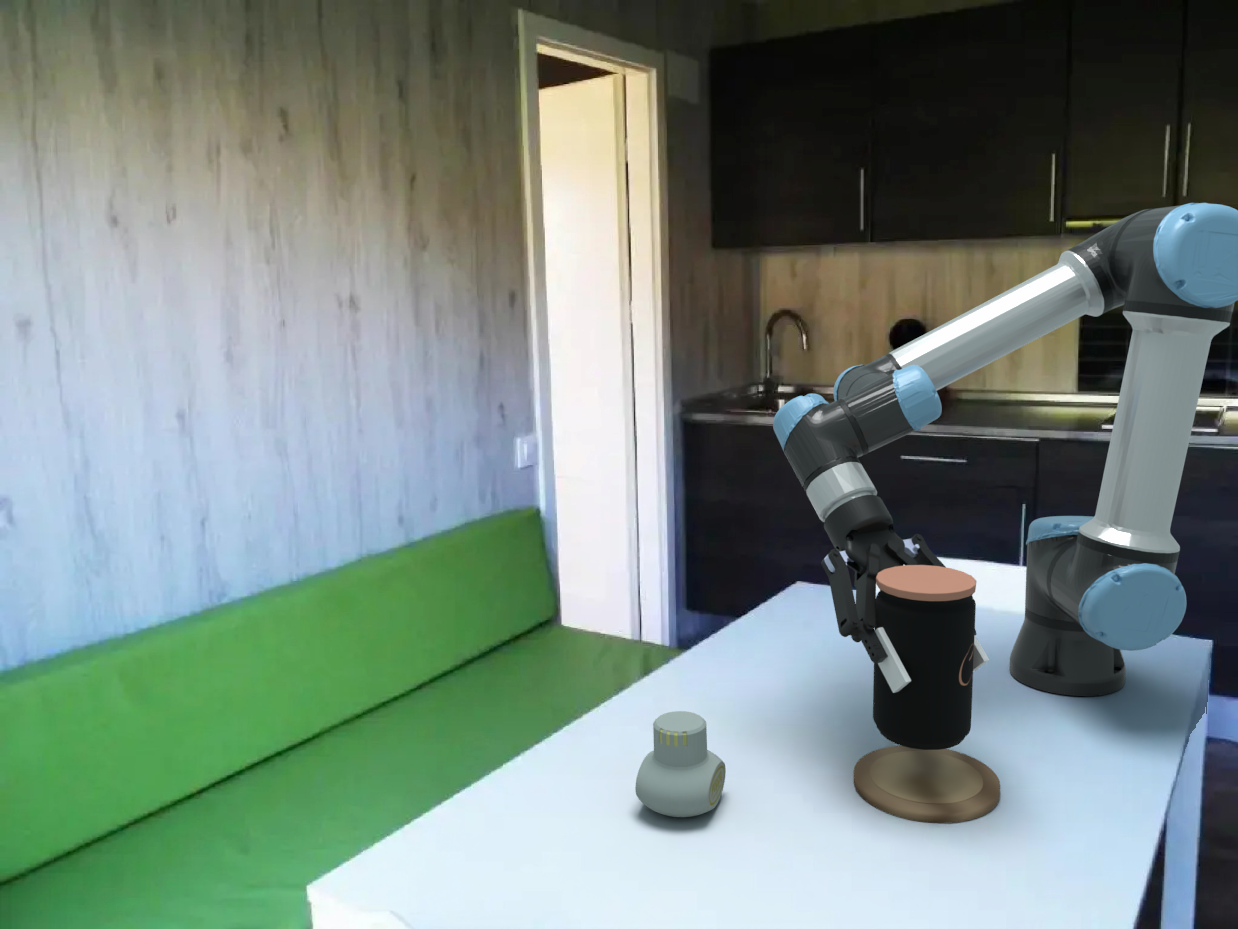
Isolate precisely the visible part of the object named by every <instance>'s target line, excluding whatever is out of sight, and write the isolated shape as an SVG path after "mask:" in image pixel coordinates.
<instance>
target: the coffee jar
mask: <svg viewBox="0 0 1238 929" xmlns="http://www.w3.org/2000/svg"><path fill="white" fill-rule="evenodd" d="M876 587H877V588H878V589H879V591H878V592H877V593H876V606H875V628H874V630H876V629H877V628H880V627H883V628H884V630H885V633H886V634H887V636H888V638H889V640H890V641H891V643H892V645H893V647H894V649H895V651H896V653H897V655H898V656H899V658H900V660H901V662H902V664H903V666H904V668H905V670H906V672H907V673H908V675H909V677H910V679H911V682H909V683H908V684H907V685H906V686H905V687H903V688H902V689H901V690H900V691H899V692H895V693H893V692H892V690H891V688H890V686H889V684H888V682H887V680H886V678H885V676H884V674H883V673H882V671H881V669H880V667H879V665H878V663H877V664H874V663H873V689H872V691H873V694H872V695H873V696H872V702H873V704H872V719H873V723H874V724H875V726H876V729H877V730H878V732H879V733H880V734H881V736H883V737H884V738H885V739H886V740H888V741H889V742H892V743H894V744H896V745H897V746H899V745H901V746H905V747H909V748H914V749H921V750H940V749H951V748H953V747H956V746H958V745H960V744H961V743H962V742H963V741H964V740H965V738H966V737H967V736H968V735H969V733H970V731H971V729H972V728H971V727H972V709H973V707H972V706H973V680H974V671H973V662H974V636H976V635H975V630H976V609H977V608H976V604H977V603H976V600H975V599H974V597H973V595H974V594H975V592H976V588H977V580H976V578H975V577H973V576H972V575H971V574H969V573H966V572H964V571H962V570H958V569H955V568H950V567H946V566H945V567H940V566H930V565H903V566H896V567H891V568H888V569H884V570H882V571H881V572H879V573H878V574H877V576H876ZM972 597H973V598H972Z"/></svg>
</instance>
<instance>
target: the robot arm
mask: <svg viewBox="0 0 1238 929" xmlns="http://www.w3.org/2000/svg"><path fill="white" fill-rule="evenodd" d="M1237 301H1238V209H1236V208H1233V207H1231V206H1228V205H1225V204H1219V203H1218V204H1217V203H1209V202H1200V203H1199V202H1189V203H1185V204H1182V205H1181V204H1180V205H1175V206H1174V205H1173V206H1165V207H1153V208H1152V207H1151V208H1146V209H1142V210H1139V211H1137V212H1134V213H1132V214H1130V215H1128V216H1125V217H1123V218H1122V219H1120V220H1118V221H1116V222H1114V223H1113V224H1112V225H1110V226H1107V227H1106V228H1104V229H1103V230H1101V231H1099V232H1097V233H1095V234H1094V235H1092V236H1090V237H1089V238H1087V239H1085V240H1084V241H1082V242H1080V243H1078V244H1076V245H1075V246H1073V247H1071V248H1069V249H1067V250H1065V251H1063V252H1062V253H1061V254H1060V257H1059V260H1058V262H1057V264H1055V265H1053V266H1050V267H1049V268H1047V269H1045V270H1044V271H1041V272H1040V273H1037V274H1036V275H1034V276H1033V277H1030V278H1028V279H1027V280H1025V281H1023V282H1021V283H1019V284H1017V285H1015V286H1013V287H1011V288H1009V289H1007V290H1006V291H1003V292H1002V293H1000V294H999V295H996V296H994V297H993V298H991V299H989V300H986V301H985V302H983V303H981V304H980V305H977V306H976V307H973V308H971V309H970V310H968V311H966V312H964V313H962V314H959V316H958V315H957V316H956V317H954V318H953V319H951V320H949V321H946V322H945V323H943V324H941V325H939V326H938V327H935V328H933V329H932V330H930V331H927V332H926V333H924V334H923V335H921V336H919V337H917V338H914V339H913V340H911V341H909V342H907V343H905V344H903V345H901V346H900V347H897V348H895V349H894V350H892V351H890V352H889V353H887V354H884V355H883V356H880V357H879V358H877V359H875V360H873V361H871V362H869V363H867V364H858V365H854V366H850V367H848V368H847V369H845V370H844V371H842V372H841V373H840V374H839V375H838V377H837V379H836V381H835V382H834V385H833V399H834V401H833V402H829V401H827V400H825V398H824V397H823V396H822V395H821V394H818V393H807V394H806V395H804V396H803V395H799V396H796V397H793V398H792V399H789V401H787V402H786V403H784V405H782V406H781V407H780V408H779V410H777V412H776V414H775V415H774V418H773V422H772V427H773V432H774V434H775V435H776V439H777V440H778V442H779V444H780V446H781V449H782V451H783V453H784V455H785V457H786V458H787V461H788V463H789V464H790V466H791V468H792V469H793V472H794V473H795V475H796V478H797V479H798V481H799V482H800V485H801V487H803V490H804V492H805V494H806V496H807V498H808V500H809V501H810V503H811V505H812V507H813V508H814V510H815V512H816V515H817V516H818V518H819V520H820V521H821V522H822V523H823V528H824V530H825V532H826V533H827V536H828V538H829V540H830V541H831V544H832V545H833V547H834V548H833V549H831V550H830V551H829V552H828V554H826V556H825V557H824V558H823V559H822V561H821V562H820V563H821V566H822V568H823V570H824V572H825V574H826V575H827V577H828V580H829V586H830V592H831V596H832V601H833V607H834V612H835V618H836V622H837V627H838V633H839V634H840V636H842V637H844V638H847V637H849V636H851V637H850V638H851V640H852V641H853V642H854V643H862V645H863V647H864V649H865V651H866V653H867V655H868V657H869V658H870V661H871V662H872V663H873V665H874V664H877V663H878V665H879V667H880V669H881V671H882V673H883V674H884V676H885V678H886V680H887V682H888V684H889V686H890V688H891V690H892V692H893V693H895V692H899V691H900V690H901V689H902V688H903V687H905V686H906V685H907V684H908V683H909V682H911V679H910V677H909V675H908V673H907V672H906V670H905V668H904V666H903V664H902V662H901V660H900V658H899V656H898V655H897V653H896V651H895V649H894V647H893V645H892V643H891V641H890V640H889V638H888V636H887V634H886V633H885V630H884V628H883V627H880V628H877V629H876V630H875V606H876V596H877V584H876V576H877V574H878V573H879V572H881V571H882V570H884V569H888V568H891V567H896V566H904V565H930V566H940V567H946V565H945V564H944V563H943V562H942V561H941V560H940V559H939V558H938V557H937V555H936V554H934V552H932V550H931V549H930V548H929V546H928V544H927V543H926V541H925V538H924V537H923V536H922V534H919V533H915V534H914V535H913V536H912V537H911V538H907V539H902V538H901V537H900V536H899V535H898V534H897V533H896V531H895V528H894V520H893V517H892V515H891V514H890V511H889V510H888V508H887V506H886V505H885V503H884V501H883V499H882V498H881V497H880V496H877V495H878V491H877V488H876V487H875V485H874V483H873V482H872V480H871V478H870V477H869V475H868V473H867V471H866V470H865V468H864V466H863V465H862V463H861V461H860V459H859V457H860V458H861V457H862V456H864V455H867V454H868V453H871V452H872V451H875V450H877V449H880V448H881V447H884V446H886V445H889V444H890V443H892V442H894V441H897V440H898V439H901V438H903V437H905V436H908V435H910V434H911V433H914V432H916V431H921V430H922V428H924V427H925V426H927V425H928V424H930V423H933V421H936V420H937V419H938V418H940V416H942V412H943V410H942V406H943V405H942V402H941V399H940V396H939V394H938V391H939V390H941V389H943V388H945V387H947V386H949V385H950V384H953V383H954V382H957V381H958V380H960V379H963V378H965V377H966V376H968V375H970V374H972V373H974V372H976V371H978V370H979V369H982V368H984V367H986V366H987V365H989V364H991V363H993V362H995V361H997V360H999V359H1001V358H1003V357H1005V356H1007V355H1009V354H1011V353H1013V352H1014V351H1016V350H1018V349H1021V348H1023V347H1024V346H1026V345H1028V344H1030V343H1032V342H1034V341H1036V340H1037V339H1040V338H1042V337H1044V336H1045V335H1047V334H1050V333H1052V332H1053V331H1055V330H1057V329H1059V328H1061V327H1063V326H1065V325H1067V324H1069V323H1071V322H1073V321H1074V320H1077V319H1079V318H1081V317H1083V316H1084V315H1088V316H1091V317H1100V316H1101V315H1103V314H1105V313H1107V312H1109V311H1111V310H1114V309H1116V308H1119V307H1121V306H1123V309H1122V316H1124V318H1125V319H1126V320H1127V322H1128V323H1129V325H1130V326H1131V329H1132V332H1131V338H1130V341H1129V347H1128V352H1127V358H1126V362H1125V367H1124V372H1123V376H1122V381H1121V385H1120V386H1121V387H1120V392H1119V397H1118V402H1117V406H1116V411H1115V416H1114V420H1113V425H1112V431H1111V436H1110V441H1109V446H1108V451H1107V455H1106V460H1105V465H1104V470H1103V475H1102V480H1101V485H1100V489H1099V490H1100V491H1099V496H1098V500H1097V503H1096V504H1097V505H1096V508H1095V513H1094V514H1095V515H1094V516H1089V515H1087V516H1085V515H1056V516H1054V515H1053V516H1046V517H1044V516H1043V517H1040V518H1039V517H1038V518H1037V519H1034V520H1033V521H1031V523H1030V524H1029V526H1028V533H1027V539H1026V542H1025V545H1026V567H1025V568H1026V569H1025V570H1026V571H1025V573H1026V574H1025V600H1024V601H1025V602H1024V604H1025V605H1024V619H1023V623H1022V625H1021V628H1020V629H1019V633H1018V635H1017V637H1016V640H1015V643H1014V645H1013V647H1012V650H1011V651H1010V657H1009V672H1010V675H1012V677H1013V678H1014V679H1016V680H1017V681H1018V682H1020V683H1021V684H1024V685H1026V686H1028V687H1030V688H1032V689H1033V688H1034V689H1036V690H1039V691H1040V690H1041V691H1044V692H1047V693H1052V694H1058V695H1064V696H1071V697H1072V696H1073V697H1074V696H1075V697H1094V696H1103V695H1109V694H1112V693H1116V692H1118V691H1119V690H1122V689H1123V687H1124V686H1125V685H1126V671H1127V670H1126V663H1125V660H1124V657H1123V653H1122V651H1130V652H1131V651H1142V650H1145V649H1149V648H1152V647H1155V646H1157V644H1159V643H1161V642H1162V641H1165V640H1166V639H1167V638H1170V637H1171V635H1172V634H1173V633H1174V632H1175V631H1177V629H1178V628H1179V626H1180V625H1181V623H1182V621H1183V619H1184V616H1185V615H1186V610H1187V595H1186V591H1185V588H1184V586H1183V584H1182V582H1181V581H1180V579H1179V578H1178V576H1177V575H1176V574H1175V573H1176V569H1177V566H1178V559H1179V555H1180V551H1181V546H1180V544H1179V543H1178V542H1177V540H1176V539H1175V538H1174V536H1173V535H1172V533H1171V526H1172V522H1173V516H1174V512H1175V508H1176V505H1177V504H1176V503H1177V498H1178V494H1179V490H1180V485H1181V481H1182V476H1183V471H1184V466H1185V462H1186V457H1187V453H1188V450H1189V449H1188V448H1189V444H1190V440H1191V434H1192V429H1193V427H1194V426H1193V425H1194V420H1195V416H1196V413H1197V412H1196V411H1197V408H1198V402H1199V397H1200V393H1201V388H1202V384H1203V379H1204V375H1205V371H1206V370H1205V369H1206V365H1207V361H1208V356H1209V353H1210V347H1211V344H1212V343H1211V342H1212V340H1213V338H1214V337H1215V336H1216V335H1218V334H1219V333H1221V332H1222V331H1223V330H1225V329H1227V328H1228V327H1230V325H1231V320H1232V315H1233V312H1234V307H1235V303H1236V302H1237ZM848 567H849V568H850V569H852V570H853V571H854V582H853V584H854V588H855V592H856V593H855V595H854V590H853V585H852V581H851V576H850V571H849V568H848ZM972 598H973V599H974V596H972ZM976 635H978V634H977V630H976V629H975V636H974V662H973V672H976V671H977V670H978V669H980V668H981V667H982V666H983V665H985V664H986V663H987V662H988V661H990V659H989V657H988V655H987V654H986V652H985V650H984V648H983V647H982V645H981V643H980V642H979V640H978V638H977V636H976Z"/></svg>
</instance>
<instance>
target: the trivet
mask: <svg viewBox="0 0 1238 929" xmlns="http://www.w3.org/2000/svg"><path fill="white" fill-rule="evenodd" d="M853 786H854V788H855V791H856V793H857V794H858V796H860V797H861V798H862V799H863V801H865V802H867V803H868V804H869V805H871V806H872V807H874V808H876V809H878V810H879V811H881V812H884V813H886V814H889V815H892V816H895V817H898V818H901V819H905V820H910V821H915V822H921V823H932V824H953V823H963V822H967V821H972V820H975V819H978V818H981V817H984V816H985V815H987V814H989V813H990V812H992V811H993V810H994V809H995V808H996V807H997V806H998V804H999V801H1000V798H1001V783H1000V779H999V777H998V775H997V774H996V773H995V772H994V770H992V768H990V767H989V766H988V765H987V764H985V763H984V762H982V761H981V760H979V759H977V758H975V757H973V756H971V755H967V754H965V753H962V752H960V751H956V750H952V749H950V748H946V749H940V750H921V749H914V748H909V747H905V746H901V745H893V746H892V745H891V746H886V747H882V748H878V749H875V750H872V751H871V752H868V753H866V754H864V755H863V756H861V757H860V758H859V759H858V760H857V762H856V763H855V765H854V767H853Z"/></svg>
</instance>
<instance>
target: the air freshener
mask: <svg viewBox="0 0 1238 929" xmlns="http://www.w3.org/2000/svg"><path fill="white" fill-rule="evenodd" d="M652 726H653V728H652V729H653V750H652V751H650V752H649V753H647V754H646V755H645V757H644V758H643V760H642V762H641V764H640V766H639V768H638V771H637V775H636V779H635V790H634V791H635V795H636V797H637V799H638V800H639V801H640V802H641V803H642V804H643V805H645V806H646V807H647V808H648V809H650V810H652V811H653V812H656V813H658V814H661V815H664V816H667V817H673V818H690V817H696V816H697V817H698V816H700V815H704V814H705V813H708V812H710V811H713V809H714V808H716V806H717V805H718V802H720V799H721V797H722V793H723V790H724V787H725V782H726V764H725V762H724V761H723V760H722V758H720V757H719V756H718V755H717V754H715V753H714V752H713V751H711V750H709V749H708V737H707V736H708V735H707V734H708V733H707V730H708V729H707V721H706V720H705V719H704V718H703V717H702V716H701V715H700V714H697V713H695V712H691V711H684V710H675V711H669V712H666V713H662V714H661V715H659V716H658V717H657V718H655V720H654V721H653V724H652Z"/></svg>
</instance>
